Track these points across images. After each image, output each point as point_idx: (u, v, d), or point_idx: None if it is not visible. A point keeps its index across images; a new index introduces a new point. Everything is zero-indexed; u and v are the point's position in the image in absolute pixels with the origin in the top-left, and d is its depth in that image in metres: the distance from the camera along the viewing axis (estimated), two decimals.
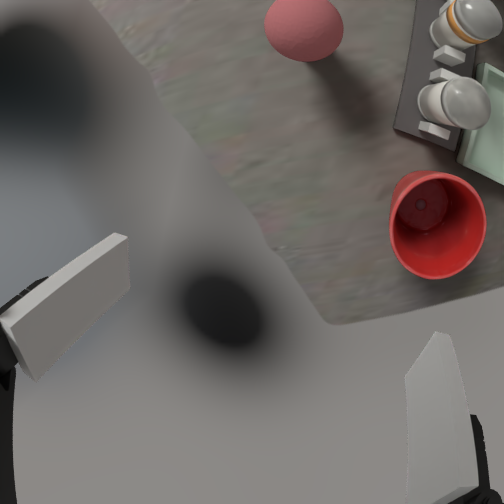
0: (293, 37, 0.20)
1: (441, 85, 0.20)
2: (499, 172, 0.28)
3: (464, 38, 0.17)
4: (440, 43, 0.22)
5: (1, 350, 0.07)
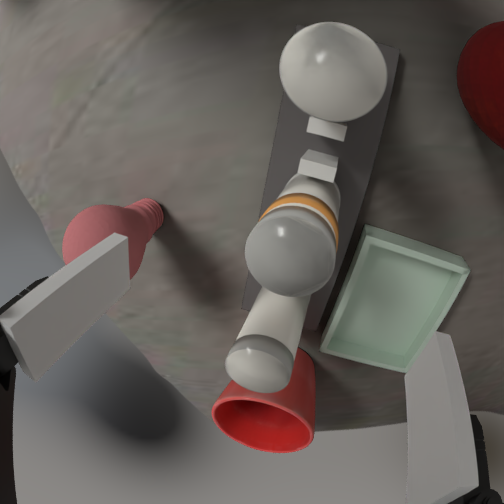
0: None
1: (243, 328, 0.22)
2: (379, 346, 0.30)
3: None
4: None
5: (1, 350, 0.07)
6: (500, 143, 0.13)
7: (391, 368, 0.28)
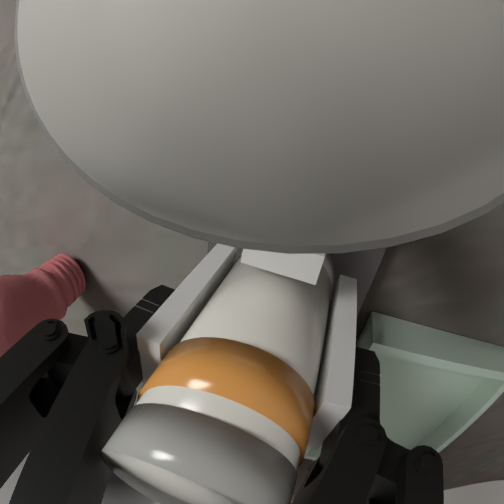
0: None
1: None
2: None
3: None
4: None
5: (129, 377, 0.08)
6: None
7: None
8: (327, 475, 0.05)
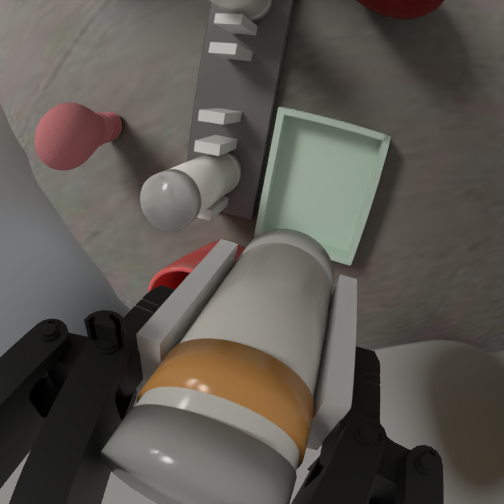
0: (44, 161, 0.24)
1: None
2: (318, 237, 0.32)
3: None
4: None
5: (129, 377, 0.08)
6: (371, 1, 0.15)
7: (331, 258, 0.30)
8: (327, 475, 0.05)
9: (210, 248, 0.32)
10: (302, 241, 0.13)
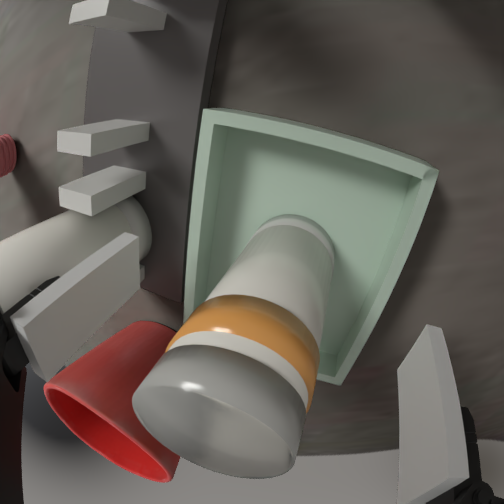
0: None
1: None
2: None
3: None
4: None
5: (12, 351, 0.07)
6: None
7: None
8: None
9: (122, 343, 0.19)
10: (307, 224, 0.15)
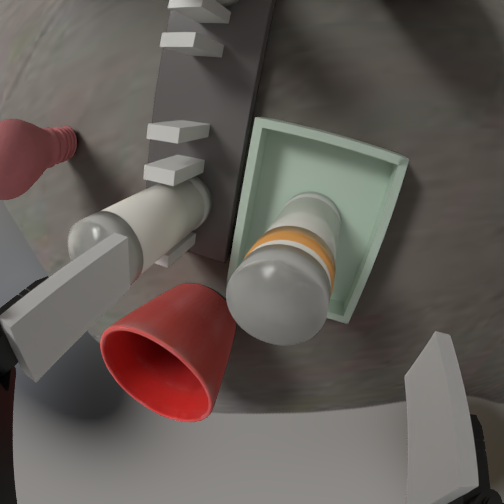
0: None
1: None
2: None
3: None
4: None
5: (1, 350, 0.07)
6: None
7: None
8: None
9: (173, 296, 0.25)
10: (322, 197, 0.21)
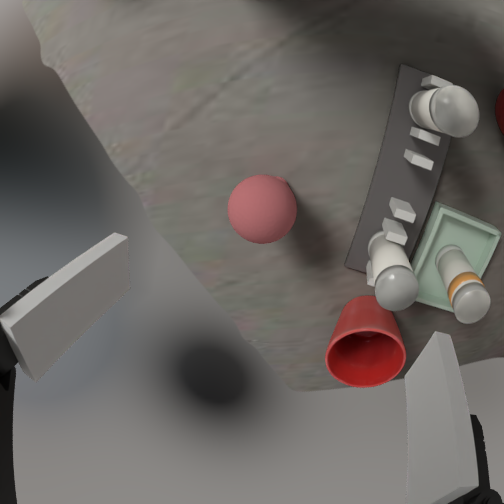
0: (249, 236, 0.30)
1: (381, 264, 0.30)
2: (440, 294, 0.38)
3: None
4: None
5: (1, 350, 0.07)
6: None
7: (450, 310, 0.36)
8: None
9: (371, 306, 0.38)
10: (459, 248, 0.34)
